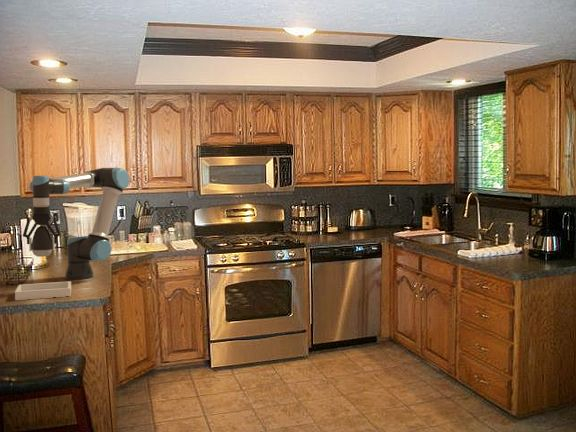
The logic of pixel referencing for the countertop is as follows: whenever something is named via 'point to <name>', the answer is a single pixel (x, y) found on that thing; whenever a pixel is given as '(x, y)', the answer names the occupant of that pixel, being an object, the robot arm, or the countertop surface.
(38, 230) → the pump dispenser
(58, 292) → the box
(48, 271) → the countertop surface
